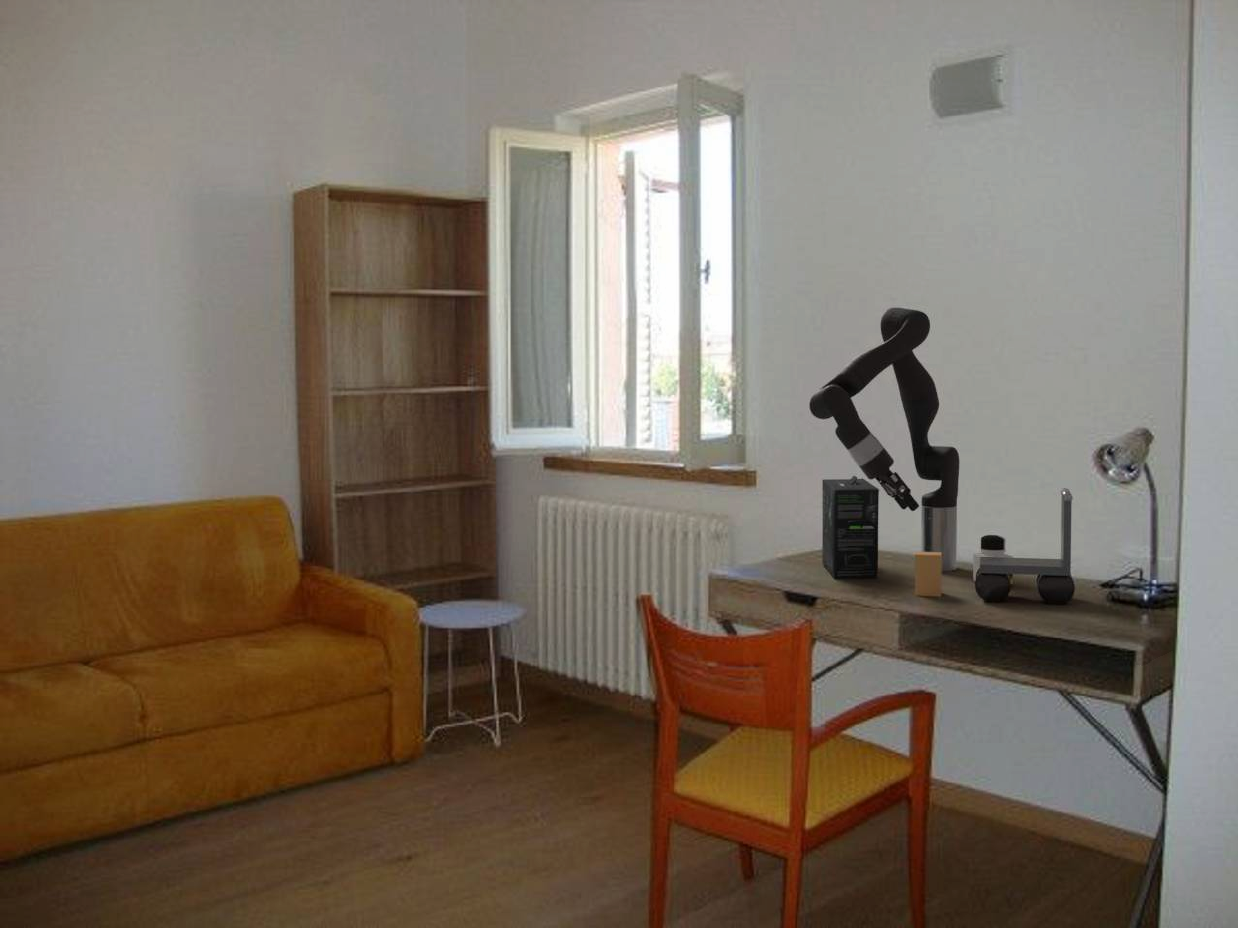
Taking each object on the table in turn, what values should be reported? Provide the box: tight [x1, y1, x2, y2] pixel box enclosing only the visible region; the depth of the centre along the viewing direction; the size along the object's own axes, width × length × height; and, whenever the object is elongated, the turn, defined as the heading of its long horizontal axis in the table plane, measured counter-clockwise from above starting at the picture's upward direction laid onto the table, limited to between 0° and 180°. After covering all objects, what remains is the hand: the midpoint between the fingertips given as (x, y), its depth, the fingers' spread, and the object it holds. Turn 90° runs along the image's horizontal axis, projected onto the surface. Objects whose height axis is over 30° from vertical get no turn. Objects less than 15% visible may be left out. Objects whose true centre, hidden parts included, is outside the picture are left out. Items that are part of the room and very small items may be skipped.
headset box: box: [821, 475, 880, 580], centre depth 330 cm, size 22×12×26 cm, turn 179°
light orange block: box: [914, 551, 943, 597], centre depth 298 cm, size 4×6×10 cm
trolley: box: [974, 487, 1076, 606], centre depth 289 cm, size 12×22×26 cm, turn 73°
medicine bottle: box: [972, 534, 1014, 585], centre depth 311 cm, size 7×7×12 cm
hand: (911, 508), depth 298 cm, fingers open, 8 cm apart
